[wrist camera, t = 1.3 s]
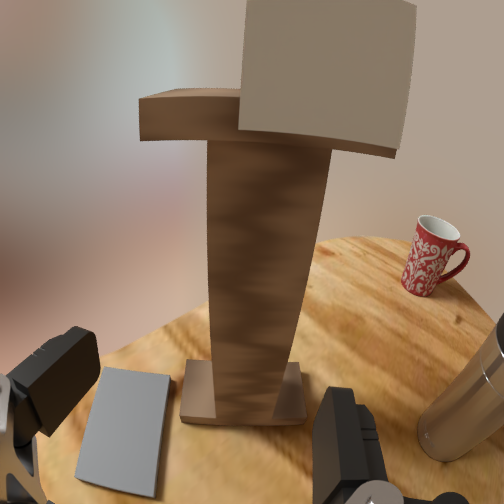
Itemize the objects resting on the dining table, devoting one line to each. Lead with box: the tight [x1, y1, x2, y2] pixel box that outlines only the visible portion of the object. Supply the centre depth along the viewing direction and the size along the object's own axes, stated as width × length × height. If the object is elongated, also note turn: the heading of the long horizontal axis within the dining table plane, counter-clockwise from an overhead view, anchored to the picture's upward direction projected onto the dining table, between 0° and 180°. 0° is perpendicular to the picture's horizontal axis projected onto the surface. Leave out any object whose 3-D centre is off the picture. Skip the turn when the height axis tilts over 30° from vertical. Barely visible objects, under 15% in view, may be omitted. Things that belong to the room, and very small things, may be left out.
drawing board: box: [74, 367, 171, 498], centre depth 27 cm, size 9×16×1 cm, turn 1°
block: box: [238, 0, 417, 149], centre depth 11 cm, size 3×18×3 cm, turn 1°
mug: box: [401, 215, 470, 296], centre depth 49 cm, size 13×9×14 cm
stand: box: [139, 88, 397, 426], centre depth 24 cm, size 14×9×32 cm, turn 91°
